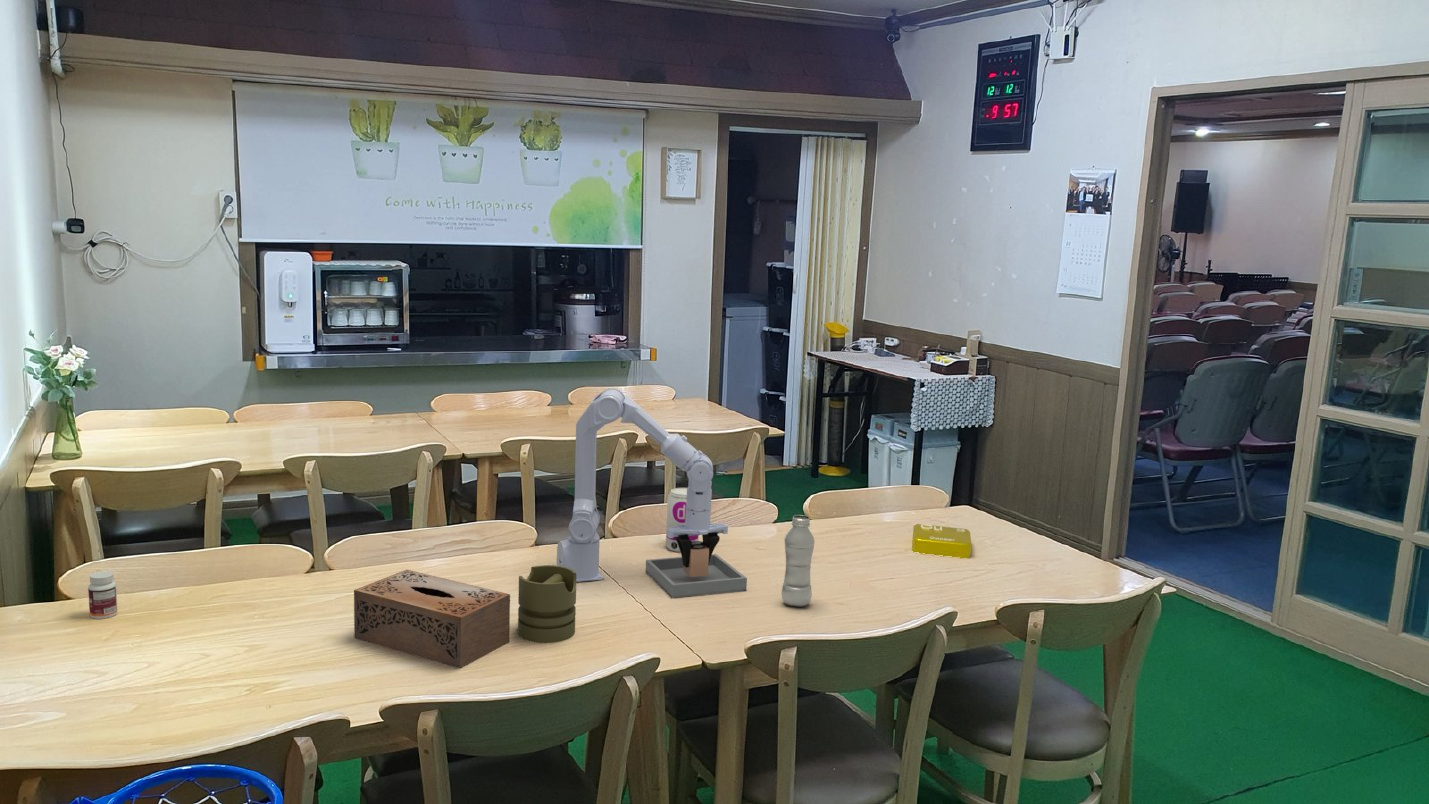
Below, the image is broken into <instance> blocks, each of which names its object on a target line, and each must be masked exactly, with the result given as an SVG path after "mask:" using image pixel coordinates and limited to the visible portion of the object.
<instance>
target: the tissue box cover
mask: <svg viewBox="0 0 1429 804" xmlns="http://www.w3.org/2000/svg"><path fill="white" fill-rule="evenodd" d="M510 609H511V593H506V592H503V591H498V590H493V589H489V588H485V587H481V586H477V585H473V584H468V583H466V582H465V583H464V582H460V581H456V580H452V579H449V578H444V577H440V576H436V575H433V574H426V573H423V572H419V571H415V570H411V569H405V570H403V571H402V570H401V571H399V572H396V573H394V574H392V575H390V576H389V575H388V576H387V577H384V578H381V579H378V580H377V581H374V582H371V583H369V584H366V585H364V586H360V587H359V588H355V589H354V590H353V617H354V618H353V621H354V624H353V627H354V629H353V631H354V632H353V633H354V636H353V637H354V639H355V640H360V641H363V642H367V643H370V644H373V645H376V646H377V645H378V646H380V647H384V648H388V649H391V650H395V651H398V652H402V653H405V654H408V655H411V656H415V657H418V658H423V659H426V660H429V661H434V662H437V663H440V664H444V665H447V666H451V667H454V668H458V669H463V668H464V667H466V666H469V665H470V664H472V663H474V662H476V661H478V660H479V659H481V658H483V657H485V656H486V655H488V654H490V653H492V652H494V651H495V650H497V649H500V648H502V647H503V646H505V645H507V644H508V643H510V630H511V629H510V628H511V627H510V625H511V624H510V623H511V622H510V619H511V617H510V616H511V615H510V614H511V612H510Z"/></svg>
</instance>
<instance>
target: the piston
mask: <svg viewBox="0 0 1429 804" xmlns="http://www.w3.org/2000/svg"><path fill="white" fill-rule="evenodd" d="M517 603H518V609H517V616H518V617H517V634H518V636H519V638H521V639H523V640H525V641H527V642H530V643H531V642H532V643H538V644H554V643H560V642H564V641H566V640H569V639H571V638H572V637H574V635H575V633H576V614H577V613H576V612H577V611H576V610H577V608H576V603H577V582H576V572H575V571H574V570H572V569H570V568H567V567H562V566H557V565H556V564H555V565H552V564H547V565H545V564H543V565H536V566H531V570H530V573H529V575H528V576H527V577H526V578H525V577H523V575H518V602H517Z"/></svg>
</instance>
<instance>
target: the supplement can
mask: <svg viewBox="0 0 1429 804" xmlns="http://www.w3.org/2000/svg"><path fill="white" fill-rule="evenodd" d="M687 488H688V487H676V488H672V489H670V492H669V493H668V495H667V505H666V506H667V510H666V530H667V528H669V527H675V526H680V525H685V520H686V499H687ZM699 536H700V535H692V536H688V537H689V540H691V541H699ZM665 547H667V549H668V550H669V551H671V552H675V553H681V552H680V548H679V546H678V543H677V541H676V539H675V537H673V538H669V537H667V536H666V535H665Z"/></svg>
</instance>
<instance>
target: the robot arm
mask: <svg viewBox="0 0 1429 804" xmlns="http://www.w3.org/2000/svg"><path fill="white" fill-rule="evenodd" d="M620 418H621V420H620V423H622V424H634V425H635V426H636V427H637V428H638V429H640V430H641V431H642V432H644V433H645V434H646V435H647V436H649V437H650V438H651V439H652V440H654V441H655V442H656V443H658V444H659V445H660V453H661V454H662V455H663V456H664V457H666V458H667V459H668V460H669V461H670V462H671V463H673V464H674V465H675V466H676V467H677V468H679V469H680V470H681V471H683V472H685V473H686V476H687V479H688V486H687V487H686V488H687V499H686V520H685V525H680V526H675V527H669V528H667V530H666V533H665V534H666V535H665V537H666V536H667V537H669V538H673V537H675V539H676V541H677V543H678V546H679V548H680V552H679V553H680V555H681V556H680V557H682V561H683V565H684V566H685V567H689V559H690V548H691V544H692V541H691V540H689V537H688V536H692V535H699V536H702V542H704V543H705V546H706V547H708V548H709V561H710V558H711V555H712V554H714V553H713V552H714V550H715V548H716V547H717V545H718V544H719V542H720V534H723V535H728V531H729V525H727V524H726V523H711V511H712V494H713V493H712V492H713V490H712V483H713V482H712V480H713V478H714V464H713V462H712V460H711V459H710V458H709V456H708V455H706V454H704V453H703V451H701V449H699V450H698V449H696V448H695V447H694V446H693V445H691V443H689V442H688V441H687V440H688V437H686V436H685V435H684V434H683V435H680V434H679V433H669V432H668V431H667V430H666V429H665V428H664V426H661V424H660V423H658V421H656V420H655V419H654V418H653V417H652V416H651V415H650V414H649V413H648V412H647V411H646V410H644V408H643V407H641V405H639V404H638V403H636V402H635V401H634V400H633V399H632V398H630V396H628V395H626V396H625V394H624V393H623V391H621V390H620V389H618V388H614V387H613V388H612V387H610V388H607V389H605V390H603V391H601V392H600V393H599V394H597V395H596V396H595V397H594V398H593V400H592V401H591V402H590V404H589V405H588V406H587V407H586V408H585V410H584V412H583V413H582V414H581V416H580V417H579V418H578V420H577V421H576V424H575V455H574V456H575V458H574V459H575V462H574V463H575V464H574V468H575V469H574V472H575V473H574V501H573V510H572V516H571V517H572V518H571V520H570V522H569V524H568V528H567V529H568V538H567V539H563V540H559V541H557V542H558V543H557V548H556V566H562V567H567V568H570V569H572V570H574V571H575V572H576V583H577V582H578V583H580V582H590V581H601V580H604V579H605V577H604V575H603V574H602V573H601V572H600V571H599V570H600V569H599V567H600V541H601V540H600V539H601V538H600V535H599V534H598V532H597V529H598V527H599V525H600V522H601V516H600V513H599V511H598V509H597V500H596V499H597V498H596V489H597V488H596V487H597V486H596V484H597V481H596V479H597V477H596V476H597V443H598V442H597V439H598V438H597V436H598V434H597V433H598V432H599V430H601V429H602V428H603V427H604V426H606V425H608V424H612V423H613V422H616V421H618V420H619V419H620ZM708 565H709V563H708Z"/></svg>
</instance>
